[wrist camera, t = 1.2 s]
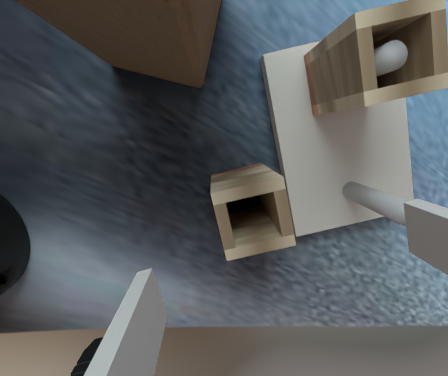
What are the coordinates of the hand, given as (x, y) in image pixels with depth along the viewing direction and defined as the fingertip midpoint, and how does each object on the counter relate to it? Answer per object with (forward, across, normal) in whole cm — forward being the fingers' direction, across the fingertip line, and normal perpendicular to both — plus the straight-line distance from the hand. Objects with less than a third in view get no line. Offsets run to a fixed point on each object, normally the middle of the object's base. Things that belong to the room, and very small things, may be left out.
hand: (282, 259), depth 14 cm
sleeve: (+18, 0, -1) cm, 19 cm away
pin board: (+18, +12, +3) cm, 22 cm away
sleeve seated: (+16, +12, +9) cm, 22 cm away
